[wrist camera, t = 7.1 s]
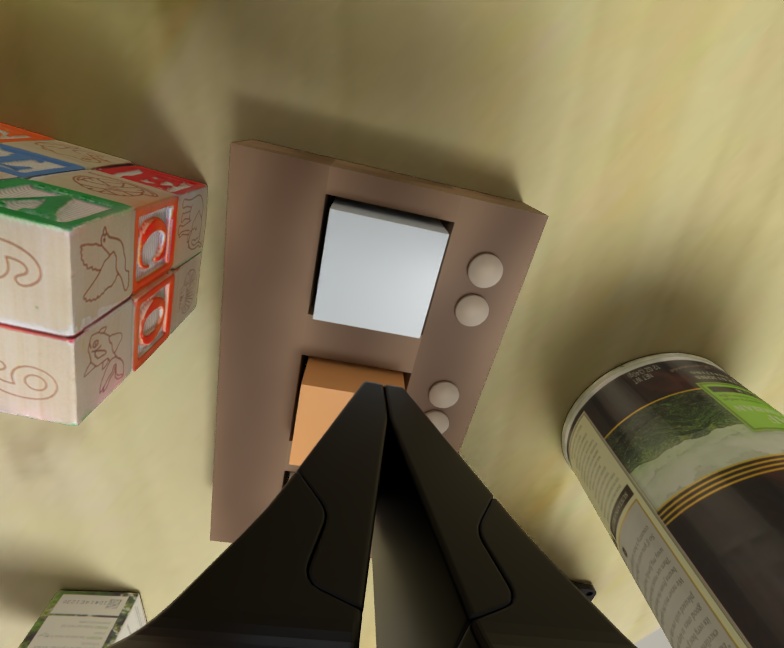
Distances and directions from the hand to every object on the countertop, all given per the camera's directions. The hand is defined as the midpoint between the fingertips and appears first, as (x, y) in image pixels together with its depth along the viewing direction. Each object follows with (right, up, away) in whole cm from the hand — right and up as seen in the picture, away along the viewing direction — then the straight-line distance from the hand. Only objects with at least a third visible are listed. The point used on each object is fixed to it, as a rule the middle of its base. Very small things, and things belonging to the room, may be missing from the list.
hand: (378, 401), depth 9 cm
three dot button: (-2, -2, +12) cm, 12 cm away
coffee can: (+15, -4, +16) cm, 23 cm away
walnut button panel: (-2, -1, +14) cm, 14 cm away
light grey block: (0, +5, +10) cm, 11 cm away
